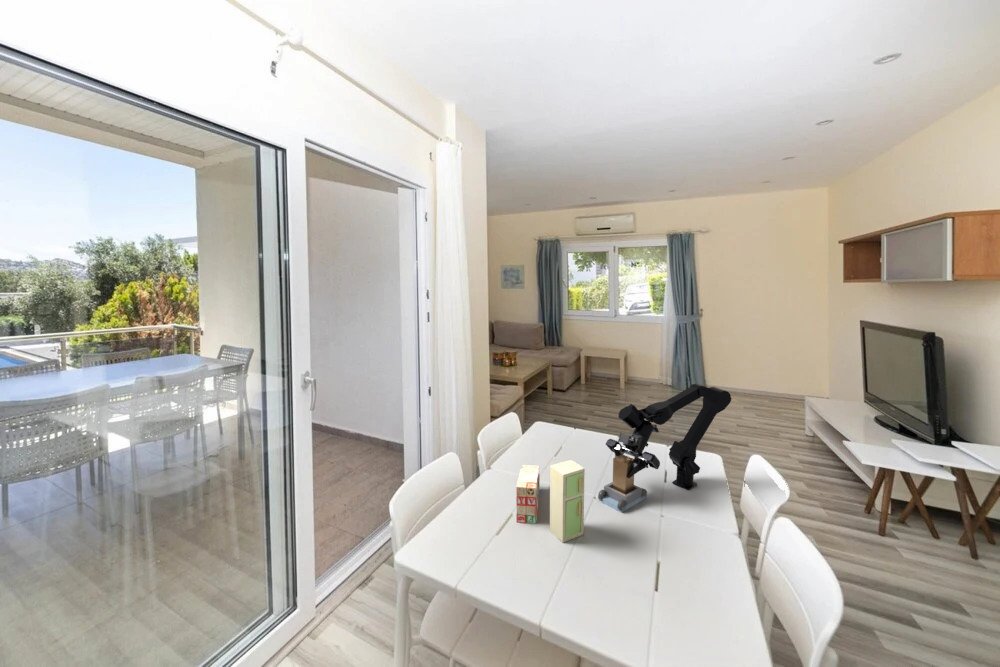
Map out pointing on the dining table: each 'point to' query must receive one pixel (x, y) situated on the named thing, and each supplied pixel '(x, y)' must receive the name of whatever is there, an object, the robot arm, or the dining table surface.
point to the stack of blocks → (527, 494)
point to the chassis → (621, 497)
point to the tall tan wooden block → (622, 474)
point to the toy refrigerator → (567, 500)
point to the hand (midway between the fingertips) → (621, 474)
